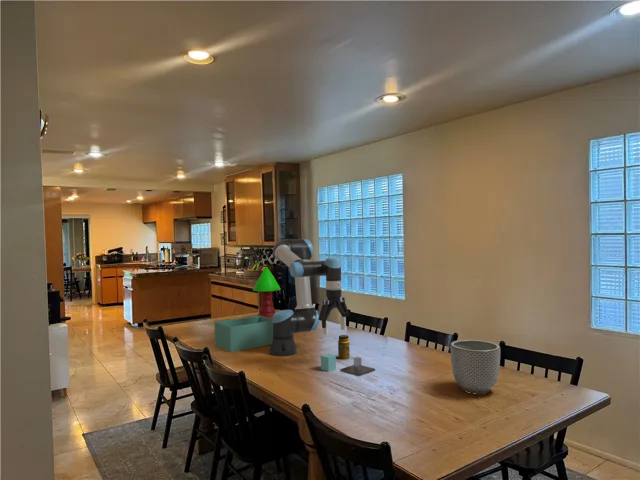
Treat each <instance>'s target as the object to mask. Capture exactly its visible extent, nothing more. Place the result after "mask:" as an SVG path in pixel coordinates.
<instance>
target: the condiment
mask: <svg viewBox="0 0 640 480" xmlns="http://www.w3.org/2000/svg"><path fill="white" fill-rule="evenodd" d="M349 339H350V338H349V335H347V334H342V335H338V341H337V342H338V343H337V345H338V346H337V352H338V354H337V355H338V356H336V361H340V362H342V361H347V360H348V361H349V360H351V359H353V357H350V355H351V353H350V340H349Z"/></svg>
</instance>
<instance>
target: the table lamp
mask: <svg viewBox="0 0 640 480" xmlns="http://www.w3.org/2000/svg"><path fill="white" fill-rule="evenodd" d="M252 291H253V292H256V293H257V292H258V293H259V292H261V305H260V306H261V307H260V308H259V312H258V314H257V315H256V316H263V317H267V318H271V319H273V314H274V313H276V309H275V307H274V304H273V303H274V302H273V292H278V291H281V287H280V285H279V283H278V282H277V280H276V278H275V276H274V275H273V274H272V272H271V270H270V269H269V268H268V267H267V266H265V267H264V269H263V271H262V272H261V274H260V275H259V277H258V279H257V281H256V283H255V285H254V287H253V288H252Z"/></svg>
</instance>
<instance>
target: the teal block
mask: <svg viewBox="0 0 640 480" xmlns="http://www.w3.org/2000/svg"><path fill="white" fill-rule="evenodd" d="M336 355H337V354H335V355H334V354H331V353H326V354H322V355H320V370H321V371H324V372H331V371H335V370H337V360H336V357H337V356H336Z"/></svg>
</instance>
